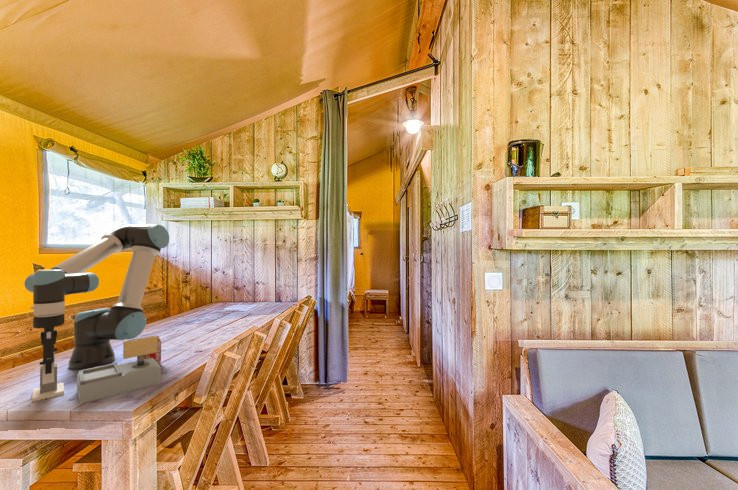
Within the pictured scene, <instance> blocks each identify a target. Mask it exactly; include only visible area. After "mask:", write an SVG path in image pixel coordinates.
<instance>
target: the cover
mask: <svg viewBox="0 0 738 490" xmlns="http://www.w3.org/2000/svg"><path fill="white" fill-rule="evenodd" d="M39 374H40V375H39V387H36V388H33V389H32V397H31V402H32V401H34V402H36V401H35V400H39V401H42V400H41V399H43V400H46V399H45V398H47V399H51V398H54V396H55V397H59V396H64V395H65V384H64V382H59V383H58V363H55V364H54V382H52V383H47V384H43V385H42V365H40V368H39ZM50 397H51V398H50Z"/></svg>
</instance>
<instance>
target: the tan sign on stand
mask: <svg viewBox="0 0 738 490" xmlns="http://www.w3.org/2000/svg"><path fill="white" fill-rule="evenodd" d="M149 336H150V337H149ZM149 336H144V337H141V338H140V337H139V338H133V339H129V340H122V341H123V342H122V343H123V348H122V351H123V353H122V355H123V359H124V360H125V359H126V360H127V359H131V358H136V361H137V366H142V365H144V355H147V354H151V353H156V352H157V336H158V335H149Z"/></svg>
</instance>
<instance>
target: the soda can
mask: <svg viewBox="0 0 738 490" xmlns="http://www.w3.org/2000/svg"><path fill="white" fill-rule="evenodd" d="M150 336H151V335H149V336H148V337H150ZM156 336H157V352H156V353H151V354H147V355H144V359H149V358H153V359H154V360H155V361H156V362H157V363H158V364H159V365H160V364H161V362H162V341H161V339H160V336H159V335H156Z"/></svg>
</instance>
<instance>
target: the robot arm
mask: <svg viewBox="0 0 738 490" xmlns="http://www.w3.org/2000/svg"><path fill="white" fill-rule="evenodd" d="M169 244H170V235H169V232H168V229H166V227H165V226H164V225H161V224H159V223H158V224H155V223H147V224H146V223H143V224H142V223H139V224H135V223H131V224H125V225H122V226H121V227H120V226H119V227H117V228H116V229H114V230H113V229H112V230H111V231H110V232H108V233H106V234H104V235H102V237H101V238H100V240H98V241H97V242H95V243H93V244H91V245H89V246H88V247H86V248H84V249H82V250H81V251H79V252H77V253H76V254H73V255H72V256H70V257H68V258H67V259H65V260H63V261H62V262H60V263H58V264H56V265H54V266H53V267H51V268H50V269H39V270H36V271H35V272H34V273H32V274H30V275H28V276H27V277H26V278H25V280H24V283H23V284H24V287H25V289H26V290H27V291H28V292H30V293H33V294H32V296H33V297H32V299H33V301H32V302H33V305H32V306H31V307H30V310H32V311H33V313H32V314H33V319H32V327H33V328H34V329H39V330H40V329H43V331H41V332H40V339H41V347H42V349H43V351H42V361H40V362H39V366H42V385H43V384H47V383H52V382H54V364H56V363H55V358H56V357H55V356H56V355H55V354H56V353H55V352H57V351H58V348H57V347H55V345H56V343H57V338H58V330H57V329H55V327H61V326H63V325H64V324H65V313H64V312H65V311H66V308H65V307H66V306H65V305H66V304H65V303H66V301H65V299H66V298H65V296H68V295H74V294H75V295H76V294H83V293H84V294H86V293H89V292H94V291H95V290H96V289H97V288H98V287H99V284H100V278H99V277H98V275H97V274H96V273H94V272H86V271H88V270H89V269H91V268H93V267H94V266H96V265H98V264H99V263H101V262H102V261H104V260H105V259H107V258H108V257H110V256H112V255H113V254H119V253H120V252H122V251H123V250H128V249H130V250H131V251H132V255H131V258H130V261H129V264H128V267H127V270H126V274H125V277H124V280H123V284H122V287H121V290H120V293H119V296H118V298H117V301H116V303H114V304H113V305H112V306H111V307H103V308H96V309H91V310H86V311H81V312H78V313H77V314H76V315H75V316H74V322H73V333H74V334H73V335H74V336H73V337H74V340H73V341H74V344H73V345H74V346H73V347H74V348H73V350H72V353H71V355H70V357H69V360H68V368H69V369H70V370H85V369H90V368H94V367H99V366H104V365H108V364H109V363H110V364H111V363H112V362H113V361H115V359H116V353H115V351H114V349H113V347H112V345H111V341H112V340H116V341H127V340H133V339H137V337H138V336H140V335H141V334H142V333H143V331H144V329H145V328H146V325H147V316H146V314H145V313H144V308H143V307H142V303H143V302H142V301H143V298H144V295H145V291H146V288H147V284H148V281H149V278H150V275H151V271H152V268H153V265H154V262H155V257H156V256H158V255H160V253H161V250H162V249H165V248H166V247H168V246H169Z"/></svg>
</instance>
